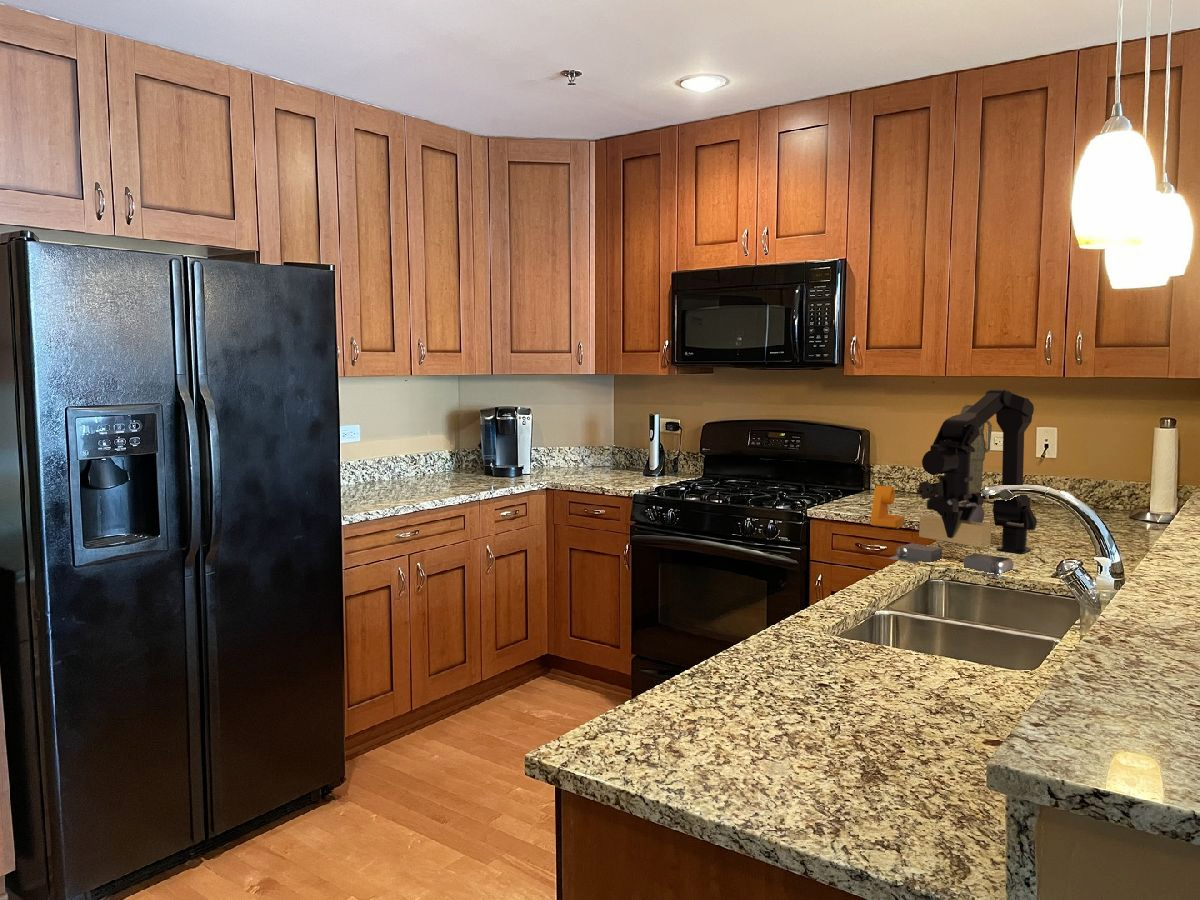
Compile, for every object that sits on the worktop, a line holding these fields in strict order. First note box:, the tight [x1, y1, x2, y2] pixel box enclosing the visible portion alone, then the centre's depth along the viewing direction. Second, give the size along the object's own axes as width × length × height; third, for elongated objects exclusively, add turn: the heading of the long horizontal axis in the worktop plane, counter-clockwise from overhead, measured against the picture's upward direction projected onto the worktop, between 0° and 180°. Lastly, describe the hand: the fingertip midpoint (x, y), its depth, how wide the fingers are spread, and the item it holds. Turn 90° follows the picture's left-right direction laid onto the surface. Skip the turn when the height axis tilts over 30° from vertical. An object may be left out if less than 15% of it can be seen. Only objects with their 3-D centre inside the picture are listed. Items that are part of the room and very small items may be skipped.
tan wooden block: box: [918, 514, 992, 548], centre depth 212 cm, size 4×16×5 cm, turn 38°
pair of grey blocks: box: [888, 543, 1021, 579], centre depth 213 cm, size 10×28×3 cm, turn 45°
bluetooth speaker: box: [969, 503, 985, 523], centre depth 247 cm, size 23×9×10 cm, turn 149°
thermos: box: [959, 404, 993, 507], centre depth 292 cm, size 9×12×35 cm
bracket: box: [870, 485, 905, 530], centre depth 264 cm, size 11×7×12 cm, turn 147°
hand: (954, 536), depth 212 cm, fingers closed on tan wooden block, 4 cm apart
